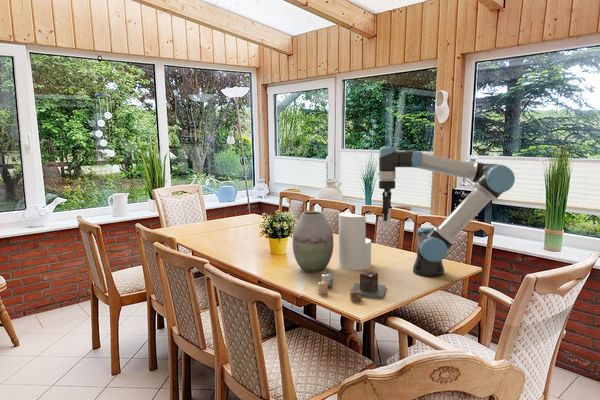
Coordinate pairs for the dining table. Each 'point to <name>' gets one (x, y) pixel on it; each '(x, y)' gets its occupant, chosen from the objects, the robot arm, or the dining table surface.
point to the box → (369, 281)
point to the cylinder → (353, 242)
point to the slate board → (375, 294)
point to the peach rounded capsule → (322, 288)
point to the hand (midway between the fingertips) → (386, 224)
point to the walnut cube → (355, 295)
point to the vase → (312, 242)
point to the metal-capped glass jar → (328, 279)
